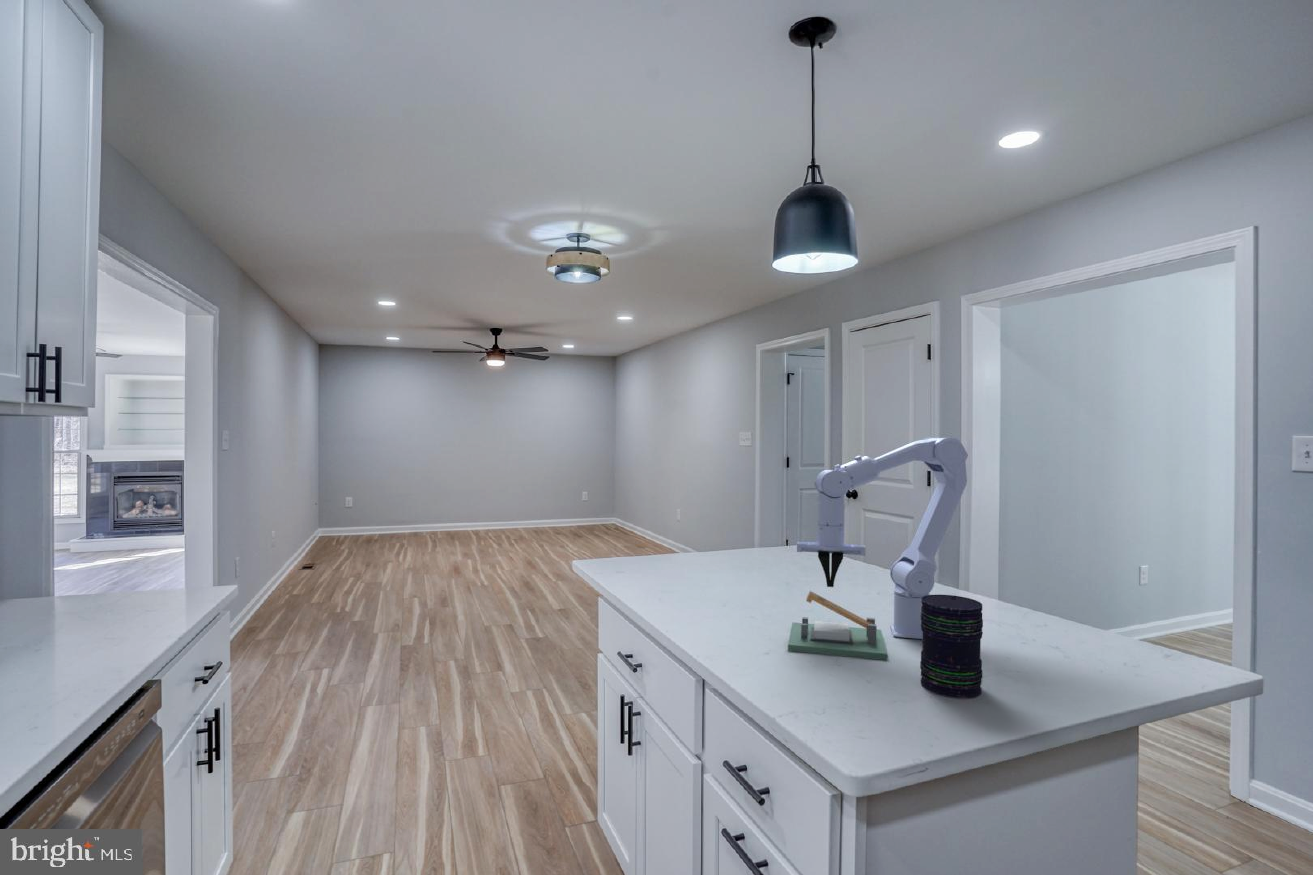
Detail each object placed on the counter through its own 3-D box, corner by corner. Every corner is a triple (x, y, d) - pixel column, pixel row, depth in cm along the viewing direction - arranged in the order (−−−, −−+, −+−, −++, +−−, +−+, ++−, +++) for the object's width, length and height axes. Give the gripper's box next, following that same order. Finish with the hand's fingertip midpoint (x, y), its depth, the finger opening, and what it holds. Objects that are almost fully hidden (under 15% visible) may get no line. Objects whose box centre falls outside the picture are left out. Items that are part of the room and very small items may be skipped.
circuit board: (881, 635, 139) (881, 612, 139) (887, 660, 124) (887, 634, 124) (792, 627, 144) (792, 605, 144) (787, 650, 129) (788, 626, 129)
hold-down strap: (871, 631, 133) (874, 623, 133) (871, 635, 131) (875, 628, 130) (806, 597, 137) (810, 590, 137) (806, 600, 134) (809, 593, 134)
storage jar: (979, 703, 104) (980, 612, 104) (915, 690, 109) (916, 603, 109) (984, 683, 112) (985, 599, 112) (925, 672, 117) (925, 591, 117)
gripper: (796, 525, 138) (795, 587, 138) (866, 528, 134) (865, 592, 134) (798, 521, 145) (797, 580, 145) (864, 524, 141) (864, 585, 141)
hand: (830, 586), depth 140 cm, fingers closed
